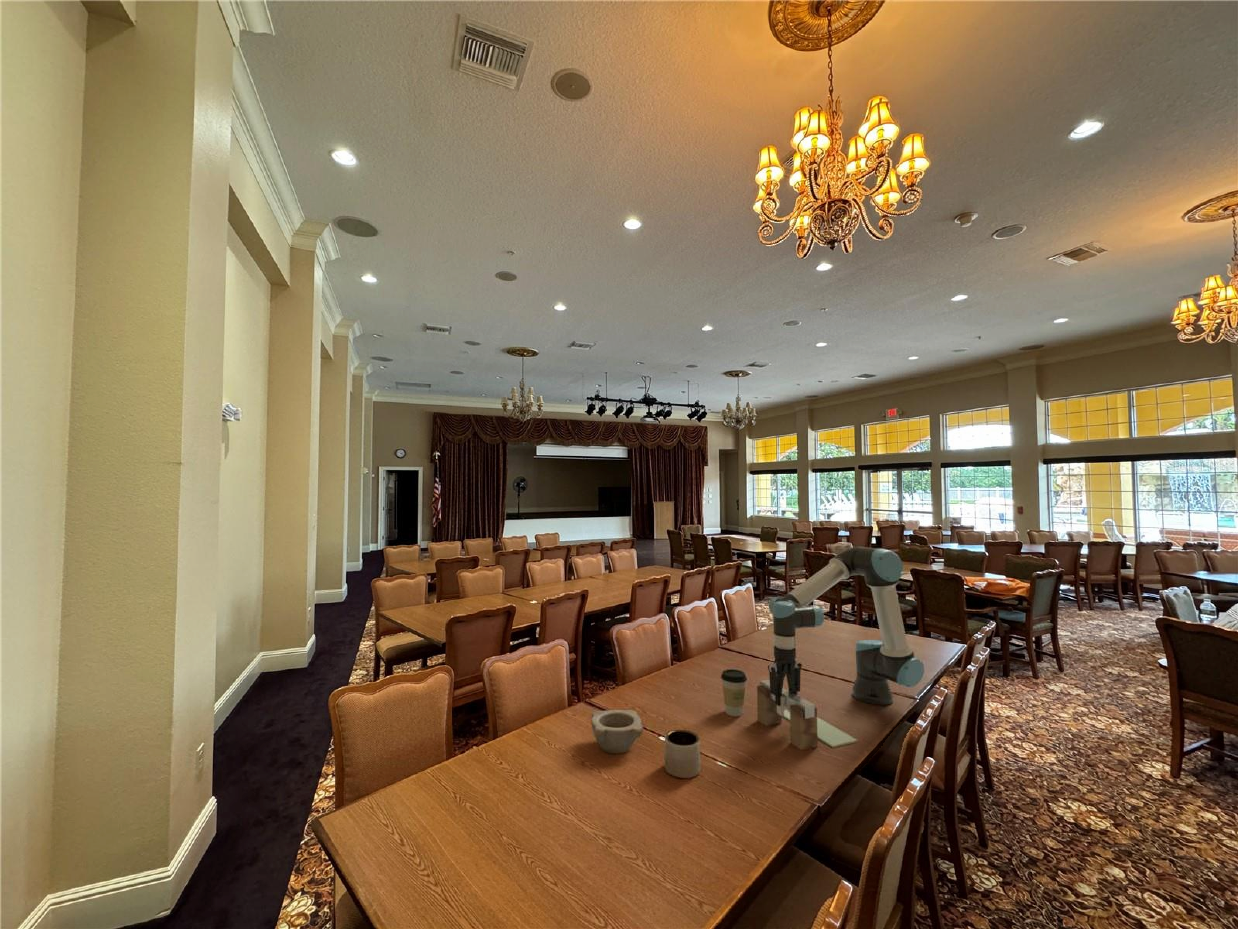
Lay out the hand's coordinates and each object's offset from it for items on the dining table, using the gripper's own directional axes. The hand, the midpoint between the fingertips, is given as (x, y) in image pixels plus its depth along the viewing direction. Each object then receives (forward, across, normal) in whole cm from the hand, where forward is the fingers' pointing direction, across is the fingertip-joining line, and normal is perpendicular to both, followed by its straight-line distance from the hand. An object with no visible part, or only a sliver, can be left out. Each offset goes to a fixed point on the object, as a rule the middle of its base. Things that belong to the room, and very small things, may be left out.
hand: (785, 713), depth 174 cm
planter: (+7, +46, +8) cm, 47 cm away
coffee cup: (+7, +8, -20) cm, 23 cm away
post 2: (+7, 0, +9) cm, 11 cm away
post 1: (+7, 0, -9) cm, 11 cm away
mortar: (+7, +60, -12) cm, 62 cm away
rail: (-3, 0, 0) cm, 3 cm away
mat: (+7, -13, 0) cm, 15 cm away
